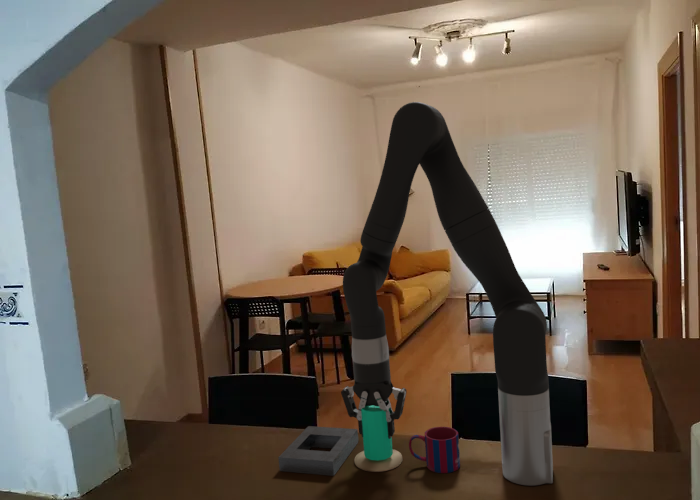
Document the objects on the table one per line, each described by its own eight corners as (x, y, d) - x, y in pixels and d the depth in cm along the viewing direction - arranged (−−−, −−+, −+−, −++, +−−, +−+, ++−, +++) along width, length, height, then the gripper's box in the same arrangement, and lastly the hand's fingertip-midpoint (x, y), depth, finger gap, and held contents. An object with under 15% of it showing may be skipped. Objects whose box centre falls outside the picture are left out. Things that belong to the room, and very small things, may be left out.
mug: (457, 474, 118) (455, 441, 117) (407, 471, 121) (405, 438, 120) (462, 459, 124) (460, 427, 123) (414, 456, 127) (412, 425, 126)
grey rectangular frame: (358, 441, 136) (357, 429, 136) (333, 475, 121) (332, 461, 121) (309, 438, 140) (308, 426, 140) (279, 471, 125) (278, 457, 125)
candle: (393, 447, 129) (389, 392, 128) (392, 460, 123) (388, 403, 122) (365, 448, 130) (360, 394, 128) (363, 461, 124) (358, 404, 122)
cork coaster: (407, 451, 130) (407, 449, 129) (395, 473, 120) (395, 471, 120) (362, 448, 133) (362, 446, 133) (348, 469, 123) (347, 467, 123)
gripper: (408, 352, 125) (414, 431, 127) (343, 351, 130) (350, 427, 132) (400, 363, 118) (406, 446, 120) (331, 361, 123) (338, 442, 125)
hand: (377, 436), depth 126 cm, fingers closed on candle, 4 cm apart
